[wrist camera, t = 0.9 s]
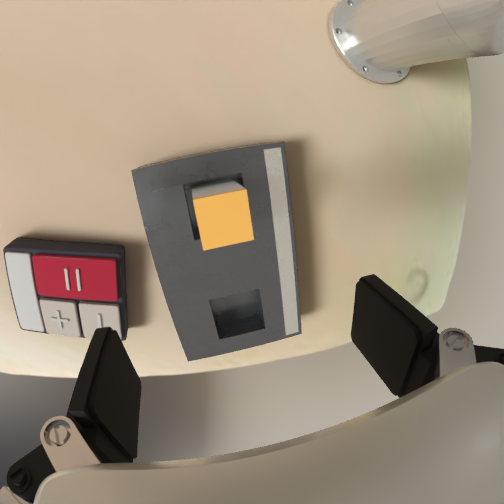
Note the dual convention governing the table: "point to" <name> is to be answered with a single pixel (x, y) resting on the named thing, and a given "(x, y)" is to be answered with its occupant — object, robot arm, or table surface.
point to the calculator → (67, 286)
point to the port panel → (224, 251)
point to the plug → (222, 213)
